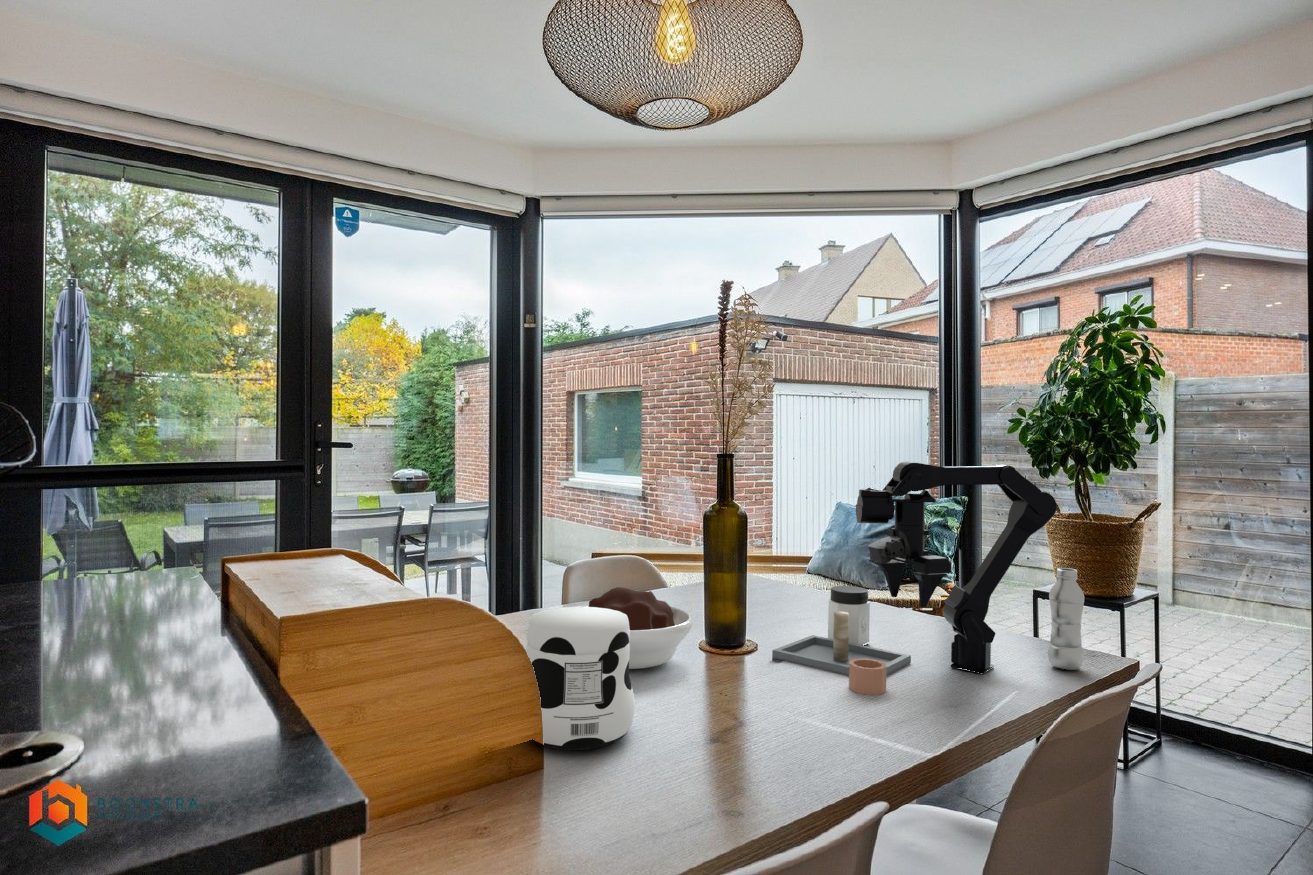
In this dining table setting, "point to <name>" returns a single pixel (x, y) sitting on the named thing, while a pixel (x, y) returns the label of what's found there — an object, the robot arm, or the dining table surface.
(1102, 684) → the dining table surface
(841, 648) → the pin
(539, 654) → the milk container
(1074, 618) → the plastic bottle
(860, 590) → the jar
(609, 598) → the white bowl
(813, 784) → the dining table surface
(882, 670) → the cup
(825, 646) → the tray
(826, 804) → the dining table surface
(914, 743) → the dining table surface
